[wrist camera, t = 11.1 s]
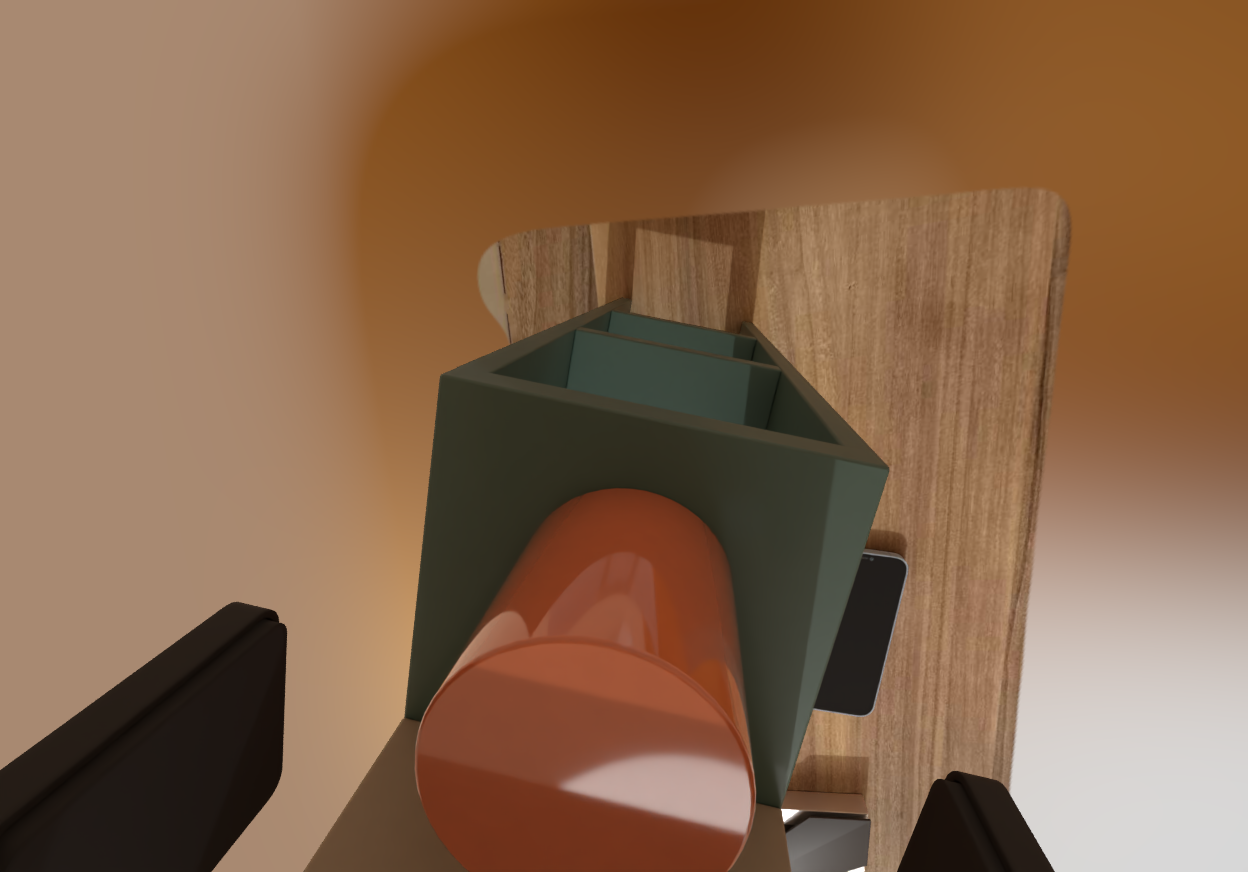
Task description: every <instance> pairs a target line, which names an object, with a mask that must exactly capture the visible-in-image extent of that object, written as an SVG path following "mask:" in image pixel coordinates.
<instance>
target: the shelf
mask: <svg viewBox="0 0 1248 872" xmlns="http://www.w3.org/2000/svg"><path fill="white" fill-rule="evenodd" d="M631 302H632V299H627V298H620V299H618V300H615V301H613V302H610V303H608V304H606V305H603V306H601V307H599V308H596V309H594V310H591V311H589V312H587V313H584V314H582V315H580V316H577V317H575V318H573V319H570V320H568V321H565V322H563V323H561V324H558V325H556V326H554V327H551V328H549V329H547V330H544V331H542V332H539V333H537V334H535V335H532V336H530V337H528V338H525V339H523V340H520V341H518V342H516V343H513V344H511V345H509V346H506V347H504V348H502V349H499V350H497V351H494V352H492V353H490V354H488V355H485V356H483V357H480V358H478V359H476V360H473V361H471V362H469V363H466V364H464V365H461V366H459V367H457V368H456V369H453V370H451V371H448V372H446V373H444V374H441V376H440V382H439V393H438V401H437V412H436V420H435V430H434V439H433V450H432V459H431V468H430V477H429V487H428V496H427V506H426V516H425V525H424V535H423V544H422V555H421V564H420V574H419V584H418V592H417V602H416V611H415V621H414V630H413V640H412V649H411V659H410V669H409V678H408V688H407V698H406V707H405V717H404V719H403V720H402V721H401V722H400V724H399V726H398V727H397V729H396V730H395V732H394V733H393V735H392V736H391V738H390V739H389V741H388V742H387V744H386V746H385V747H384V749H383V750H382V752H381V753H380V755H379V756H378V758H377V759H376V761H375V763H374V764H373V765H372V767H371V769H370V770H369V772H368V773H367V775H366V776H365V778H364V779H363V781H362V783H361V784H360V786H359V787H358V789H357V790H356V792H355V793H354V795H353V796H352V798H351V799H350V801H349V802H348V804H347V805H346V807H345V809H344V810H343V812H342V813H341V815H340V816H339V818H338V819H337V821H336V822H335V824H334V826H333V827H332V828H331V830H330V832H329V833H328V835H327V836H326V838H325V839H324V841H323V842H322V844H321V845H320V847H319V849H318V850H317V852H316V853H315V855H314V856H313V858H312V859H311V861H310V863H309V864H308V865H307V867H306V868H305V870H304V872H468V871H467V870H466V869H464V868H463V867H462V866H461V864H460V863H459V862H458V861H457V860H456V859H455V858H454V857H453V856H452V855H451V854H450V853H449V851H448V850H447V849H446V847H445V846H444V845H443V843H442V842H441V841H440V840H439V838H438V837H437V835H436V833H435V831H434V830H433V828H432V826H431V824H430V823H429V821H428V818H427V816H426V814H425V811H424V809H423V807H422V804H421V801H420V797H419V793H418V789H417V785H416V776H415V746H416V741H417V735H418V730H419V727H420V724H421V721H422V719H423V716H424V713H425V711H426V709H427V708H428V706H429V704H430V702H431V700H432V699H433V697H434V695H435V694H436V692H437V690H438V689H439V687H440V685H441V684H442V682H443V680H444V679H445V677H446V676H447V674H448V672H449V671H450V669H451V667H452V666H453V664H454V663H455V661H456V659H457V658H458V656H459V654H460V653H461V651H462V649H463V648H464V646H465V645H466V643H467V641H468V640H469V638H470V636H471V635H472V633H473V632H474V630H475V628H476V627H477V625H478V623H479V622H480V620H481V618H482V617H483V615H484V614H485V612H486V610H487V609H488V607H489V605H490V604H491V602H492V601H493V599H494V597H495V596H496V594H497V592H498V591H499V589H500V587H501V586H502V584H503V583H504V581H505V579H506V578H507V576H508V574H509V573H510V571H511V570H512V568H513V566H514V565H515V563H516V561H517V560H518V558H519V556H520V555H521V553H522V552H523V550H524V548H525V547H526V545H527V543H528V542H529V540H530V539H531V537H532V535H533V534H534V532H535V531H536V529H537V528H538V527H539V525H540V524H541V523H542V522H543V520H545V519H546V518H547V517H548V516H549V515H550V514H551V513H552V512H553V511H554V510H556V509H557V508H559V507H560V506H561V505H563V504H564V503H566V502H568V501H570V500H572V499H574V498H576V497H578V496H581V495H584V494H586V493H590V492H594V491H598V490H604V489H614V488H627V489H637V490H644V491H648V492H652V493H655V494H659V495H661V496H664V497H666V498H669V499H671V500H673V501H675V502H677V503H679V504H680V505H682V506H684V507H686V508H687V509H688V510H690V511H691V512H692V513H694V514H695V515H696V516H698V517H699V518H700V519H701V520H702V521H703V522H704V523H705V524H706V525H707V526H708V527H709V528H710V530H711V531H712V532H713V534H714V535H715V536H716V537H717V539H718V541H719V542H720V544H721V546H722V547H723V549H724V551H725V554H726V556H727V559H728V561H729V564H730V568H731V572H732V577H733V586H734V595H735V604H736V613H737V622H738V631H739V640H740V649H741V658H742V667H743V676H744V685H745V694H746V703H747V712H748V721H749V730H750V739H751V748H752V757H753V766H754V775H755V784H756V809H755V815H754V819H753V824H752V829H751V831H750V834H749V836H748V839H747V841H746V844H745V846H744V849H743V850H742V852H741V854H740V855H739V857H738V859H737V860H736V862H735V864H734V865H733V866H732V868H731V869H730V870H729V871H728V872H791V866H790V859H789V853H788V846H787V840H786V833H785V827H784V820H783V814H782V810H781V807H782V804H783V801H784V798H785V795H786V792H787V789H788V786H789V783H790V779H791V776H792V773H793V770H794V767H795V764H796V761H797V758H798V754H799V751H800V748H801V745H802V742H803V739H804V736H805V733H806V729H807V726H808V723H809V720H810V717H811V714H812V711H813V708H814V705H815V701H816V698H817V695H818V692H819V689H820V686H821V683H822V680H823V676H824V673H825V670H826V667H827V664H828V661H829V658H830V655H831V651H832V648H833V645H834V642H835V639H836V636H837V633H838V630H839V626H840V623H841V620H842V617H843V614H844V611H845V608H846V605H847V602H848V598H849V595H850V592H851V589H852V586H853V583H854V580H855V577H856V573H857V570H858V567H859V564H860V561H861V558H862V555H863V552H864V548H865V545H866V542H867V539H868V536H869V533H870V530H871V527H872V524H873V520H874V517H875V514H876V511H877V508H878V505H879V502H880V499H881V495H882V492H883V489H884V486H885V483H886V480H887V477H888V474H889V467H888V466H887V465H886V464H885V463H884V462H883V460H882V459H881V458H880V457H879V456H878V455H877V454H876V453H875V452H874V451H873V450H872V449H871V448H870V447H869V446H868V445H867V444H866V443H865V441H864V440H863V439H862V438H861V437H860V436H859V435H858V434H857V433H856V432H855V431H854V430H853V429H852V428H851V427H850V426H849V425H848V424H847V422H846V421H845V420H844V419H843V418H842V417H841V416H840V415H839V414H838V413H837V412H836V411H835V410H834V409H833V408H832V407H831V406H830V405H829V403H828V402H827V401H826V400H825V399H824V398H823V397H822V396H821V395H820V394H819V393H818V392H817V391H816V390H815V389H814V388H813V387H812V386H811V384H810V383H809V382H808V381H807V380H806V379H805V378H804V377H803V376H802V375H801V374H800V373H799V372H798V371H797V370H796V369H795V368H794V367H793V365H792V364H791V363H790V362H789V361H788V360H787V359H786V358H785V357H784V356H783V355H782V354H781V353H780V352H779V351H778V350H777V349H776V348H775V346H774V345H773V344H772V343H771V342H770V341H769V340H768V339H767V338H766V337H765V336H764V335H763V334H762V333H761V332H760V331H759V330H758V329H757V327H756V326H755V325H754V324H753V323H749V322H742V326H741V330H740V334H736V333H731V332H726V331H721V330H716V329H711V328H706V327H701V326H696V325H691V324H685V323H680V322H675V321H670V320H665V319H660V318H655V317H650V316H645V315H640V314H635V313H630V308H631Z"/></svg>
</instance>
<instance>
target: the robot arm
mask: <svg viewBox="0 0 1248 872" xmlns="http://www.w3.org/2000/svg"><path fill="white" fill-rule="evenodd" d="M286 647H287V628H286V626H285V625H284V624H282V623H279V617H278V615H277V613H276V612H275V611H273V610H270V609H266V608H261V607H257V606H253V605H249V604H244V603H240V602H233V603H230V604H228V605H226V606H225V607H224V608H222V609H221V610H219V611H218V612H217V613H216V614H214V615H212V616H211V617H210V618H208V619H207V620H206V621H204V622H203V623H202V624H200V625H199V626H197V627H196V628H195V629H194V630H192V631H191V632H189V633H188V634H186V635H185V636H184V637H182V638H181V639H180V640H178V641H177V642H175V643H174V644H173V645H171V646H170V647H169V648H167V649H166V650H164V651H163V652H162V653H160V654H159V655H158V656H156V657H155V658H153V659H152V660H151V661H149V662H148V663H147V664H145V665H144V666H143V667H141V668H140V669H138V670H137V671H136V672H134V673H133V674H132V675H130V676H129V677H127V678H126V679H125V680H123V681H122V682H121V683H119V684H118V685H116V686H115V687H114V688H112V689H111V690H110V691H108V692H107V693H105V694H104V695H103V696H101V697H100V698H99V699H97V700H96V701H95V702H93V703H92V704H90V705H89V706H88V707H86V708H85V709H84V710H82V711H81V712H79V713H78V714H77V715H75V716H74V717H73V718H71V719H70V720H69V721H67V722H66V723H65V724H63V725H62V726H60V727H59V728H58V729H56V730H55V731H53V732H52V733H51V734H49V735H48V736H46V737H45V738H44V739H42V740H41V741H40V742H38V743H37V744H35V745H34V746H33V747H31V748H30V749H29V750H27V751H26V752H24V753H23V754H22V755H20V756H19V757H18V758H16V759H15V760H14V761H12V762H11V763H9V764H8V765H7V766H5V767H4V768H3V769H1V770H0V872H211V871H212V870H213V869H214V868H215V866H216V865H217V864H218V863H219V861H220V860H221V859H222V858H223V856H224V855H225V854H226V853H227V851H228V850H229V849H230V848H231V846H232V845H233V844H234V843H235V841H236V840H237V839H238V838H239V836H240V835H241V834H242V832H243V831H244V830H245V829H246V828H247V826H248V825H249V824H250V823H251V821H252V820H253V819H254V817H255V816H256V815H257V814H258V813H259V811H260V810H261V809H262V808H263V806H264V805H265V804H266V803H267V801H268V800H269V799H270V797H271V796H272V794H273V793H274V791H275V789H276V787H277V785H278V783H279V780H280V777H281V773H282V762H283V734H284V705H285V674H286ZM897 872H1055V871H1054V870H1053V868H1052V866H1051V864H1050V863H1049V861H1048V859H1047V858H1046V856H1045V854H1044V853H1043V851H1042V849H1041V847H1040V846H1039V844H1038V842H1037V840H1036V839H1035V837H1034V835H1033V833H1032V832H1031V830H1030V828H1029V827H1028V825H1027V823H1026V821H1025V820H1024V818H1023V817H1022V815H1021V813H1020V811H1019V809H1018V808H1017V806H1016V804H1015V803H1014V801H1013V799H1012V797H1011V796H1010V794H1009V792H1008V790H1007V789H1006V788H1005V787H1004V785H1003V784H1002V783H1000V782H999V781H997V780H993V779H989V778H985V777H980V776H976V775H972V774H968V773H963V772H959V771H952V772H951V773H949V774H948V775H947V777H946V779H945V780H943V779H937V780H936V781H934V783H933V785H932V787H931V789H930V792H929V794H928V797H927V799H926V802H925V804H924V807H923V809H922V811H921V814H920V816H919V819H918V821H917V824H916V826H915V829H914V831H913V834H912V836H911V839H910V841H909V843H908V846H907V848H906V851H905V853H904V856H903V858H902V861H901V863H900V866H899V868H898V871H897Z"/></svg>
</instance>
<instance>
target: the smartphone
mask: <svg viewBox="0 0 1248 872" xmlns="http://www.w3.org/2000/svg"><path fill="white" fill-rule="evenodd" d="M907 574H908V565H907V563H906V562H905V560H904V559H903V557H902V556H901V555H899V554H897V553H893V552H886V551H878V550H871V549H864V552H863V555H862V558H861V561H860V564H859V567H858V570H857V573H856V577H855V580H854V583H853V586H852V589H851V592H850V595H849V598H848V602H847V605H846V608H845V611H844V614H843V617H842V620H841V623H840V626H839V630H838V633H837V636H836V639H835V642H834V645H833V648H832V651H831V655H830V658H829V661H828V664H827V667H826V670H825V673H824V676H823V680H822V683H821V686H820V689H819V692H818V695H817V698H816V701H815V705H814V708H813V710H819V711H825V712H832V713H838V714H844V715H851V716H857V717H863V716H867V715H869V714H870V713H871V712H872V711H873V710H874V707H875V703H876V699H877V695H878V691H879V687H880V683H881V679H882V675H883V671H884V667H885V663H886V659H887V655H888V651H889V647H890V643H891V639H892V635H893V631H894V627H895V623H896V618H897V614H898V610H899V606H900V602H901V598H902V594H903V590H904V586H905V582H906V578H907Z"/></svg>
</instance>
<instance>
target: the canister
mask: <svg viewBox="0 0 1248 872" xmlns="http://www.w3.org/2000/svg"><path fill="white" fill-rule="evenodd" d="M415 776H416V785H417V789H418V793H419V797H420V801H421V804H422V807H423V809H424V811H425V814H426V816H427V818H428V821H429V823H430V824H431V826H432V828H433V830H434V831H435V833H436V835H437V837H438V838H439V840H440V841H441V842H442V843H443V845H444V846H445V847H446V849H447V850H448V851H449V853H450V854H451V855H452V856H453V857H454V858H455V859H456V860H457V861H458V862H459V863H460V864H461V866H462V867H463V868H464V869H466V870H467V871H468V872H728V871H729V870H730V869H731V868H732V866H733V865H734V864H735V862H736V860H737V859H738V857H739V855H740V854H741V852H742V850H743V849H744V846H745V844H746V841H747V839H748V836H749V834H750V831H751V829H752V824H753V819H754V815H755V809H756V784H755V775H754V766H753V757H752V748H751V739H750V730H749V721H748V712H747V703H746V694H745V685H744V676H743V667H742V658H741V649H740V640H739V631H738V622H737V613H736V604H735V595H734V586H733V577H732V572H731V568H730V564H729V561H728V559H727V556H726V554H725V551H724V549H723V547H722V546H721V544H720V542H719V541H718V539H717V537H716V536H715V535H714V534H713V532H712V531H711V530H710V528H709V527H708V526H707V525H706V524H705V523H704V522H703V521H702V520H701V519H700V518H699V517H698V516H696V515H695V514H694V513H692V512H691V511H690V510H688V509H687V508H686V507H684V506H682V505H680V504H679V503H677V502H675V501H673V500H671V499H669V498H666V497H664V496H661V495H659V494H655V493H652V492H648V491H644V490H637V489H627V488H614V489H604V490H598V491H594V492H590V493H586V494H584V495H581V496H578V497H576V498H574V499H572V500H570V501H568V502H566V503H564V504H563V505H561V506H560V507H559V508H557V509H556V510H554V511H553V512H552V513H551V514H550V515H549V516H548V517H547V518H546V519H545V520H543V522H542V523H541V524H540V525H539V527H538V528H537V529H536V531H535V532H534V534H533V535H532V537H531V539H530V540H529V542H528V543H527V545H526V547H525V548H524V550H523V552H522V553H521V555H520V556H519V558H518V560H517V561H516V563H515V565H514V566H513V568H512V570H511V571H510V573H509V574H508V576H507V578H506V579H505V581H504V583H503V584H502V586H501V587H500V589H499V591H498V592H497V594H496V596H495V597H494V599H493V601H492V602H491V604H490V605H489V607H488V609H487V610H486V612H485V614H484V615H483V617H482V618H481V620H480V622H479V623H478V625H477V627H476V628H475V630H474V632H473V633H472V635H471V636H470V638H469V640H468V641H467V643H466V645H465V646H464V648H463V649H462V651H461V653H460V654H459V656H458V658H457V659H456V661H455V663H454V664H453V666H452V667H451V669H450V671H449V672H448V674H447V676H446V677H445V679H444V680H443V682H442V684H441V685H440V687H439V689H438V690H437V692H436V694H435V695H434V697H433V699H432V700H431V702H430V704H429V706H428V708H427V709H426V711H425V713H424V716H423V719H422V721H421V724H420V727H419V730H418V735H417V741H416V746H415Z"/></svg>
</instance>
